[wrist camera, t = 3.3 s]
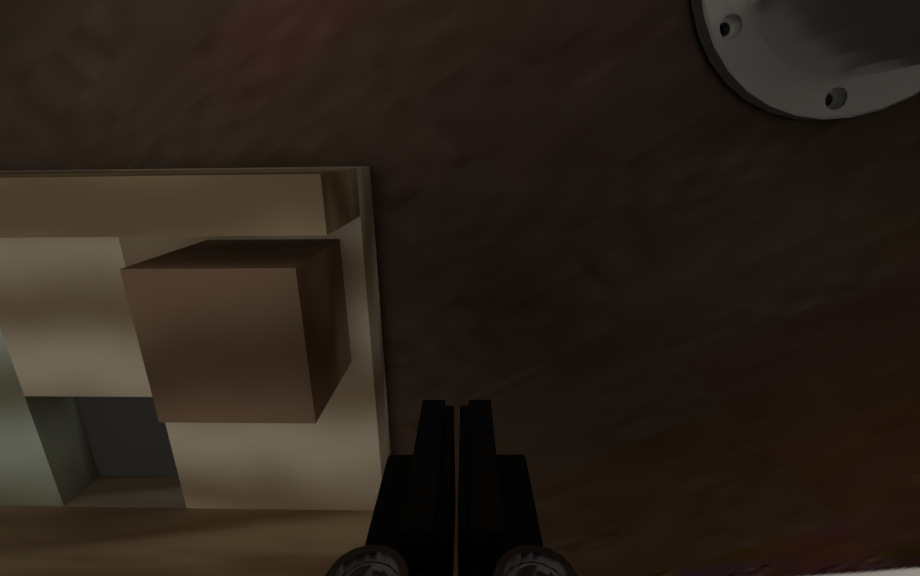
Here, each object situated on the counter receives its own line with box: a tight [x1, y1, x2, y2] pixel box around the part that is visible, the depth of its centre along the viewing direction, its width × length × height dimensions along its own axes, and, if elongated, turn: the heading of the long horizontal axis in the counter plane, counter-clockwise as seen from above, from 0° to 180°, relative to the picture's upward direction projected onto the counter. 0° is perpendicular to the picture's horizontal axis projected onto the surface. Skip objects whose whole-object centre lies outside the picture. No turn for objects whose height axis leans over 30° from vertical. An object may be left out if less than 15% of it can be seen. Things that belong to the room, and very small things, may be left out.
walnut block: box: [120, 239, 352, 424], centre depth 18 cm, size 6×6×5 cm
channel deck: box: [0, 166, 391, 576], centre depth 21 cm, size 20×28×7 cm
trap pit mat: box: [74, 397, 179, 477], centre depth 25 cm, size 7×7×1 cm
